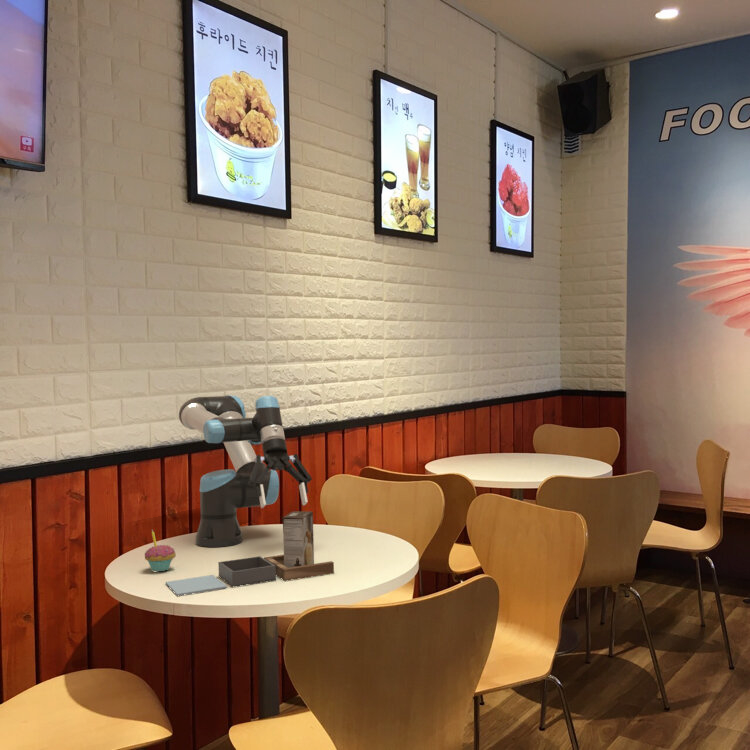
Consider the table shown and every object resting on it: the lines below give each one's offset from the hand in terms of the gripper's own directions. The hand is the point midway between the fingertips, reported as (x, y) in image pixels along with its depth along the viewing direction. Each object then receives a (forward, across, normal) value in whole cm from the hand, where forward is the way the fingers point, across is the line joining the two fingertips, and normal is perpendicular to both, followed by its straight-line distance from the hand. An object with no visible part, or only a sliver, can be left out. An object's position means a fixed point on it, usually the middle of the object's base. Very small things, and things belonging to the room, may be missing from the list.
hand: (284, 505), depth 242 cm
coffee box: (+23, -3, -9) cm, 25 cm away
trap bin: (+24, -18, -8) cm, 31 cm away
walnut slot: (+23, -3, -9) cm, 25 cm away
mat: (+24, -32, -8) cm, 41 cm away
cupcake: (+14, -37, +11) cm, 41 cm away
